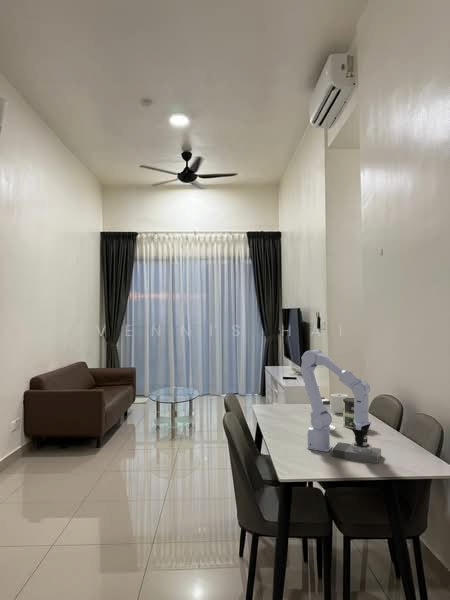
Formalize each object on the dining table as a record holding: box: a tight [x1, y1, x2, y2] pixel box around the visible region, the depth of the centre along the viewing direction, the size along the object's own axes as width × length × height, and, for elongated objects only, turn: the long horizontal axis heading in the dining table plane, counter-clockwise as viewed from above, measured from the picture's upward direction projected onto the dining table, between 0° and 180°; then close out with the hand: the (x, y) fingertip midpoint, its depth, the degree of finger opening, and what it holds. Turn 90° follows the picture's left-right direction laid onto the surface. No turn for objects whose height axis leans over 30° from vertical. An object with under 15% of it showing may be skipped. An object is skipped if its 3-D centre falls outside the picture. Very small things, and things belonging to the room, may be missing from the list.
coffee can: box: [342, 397, 356, 429], centre depth 227 cm, size 10×10×14 cm
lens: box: [354, 434, 369, 447], centre depth 178 cm, size 5×5×6 cm
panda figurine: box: [321, 396, 336, 431], centre depth 224 cm, size 12×11×15 cm
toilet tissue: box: [330, 393, 349, 414], centre depth 260 cm, size 11×12×10 cm
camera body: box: [331, 441, 382, 465], centre depth 179 cm, size 18×11×5 cm, turn 62°
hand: (361, 442), depth 178 cm, fingers open, 7 cm apart
